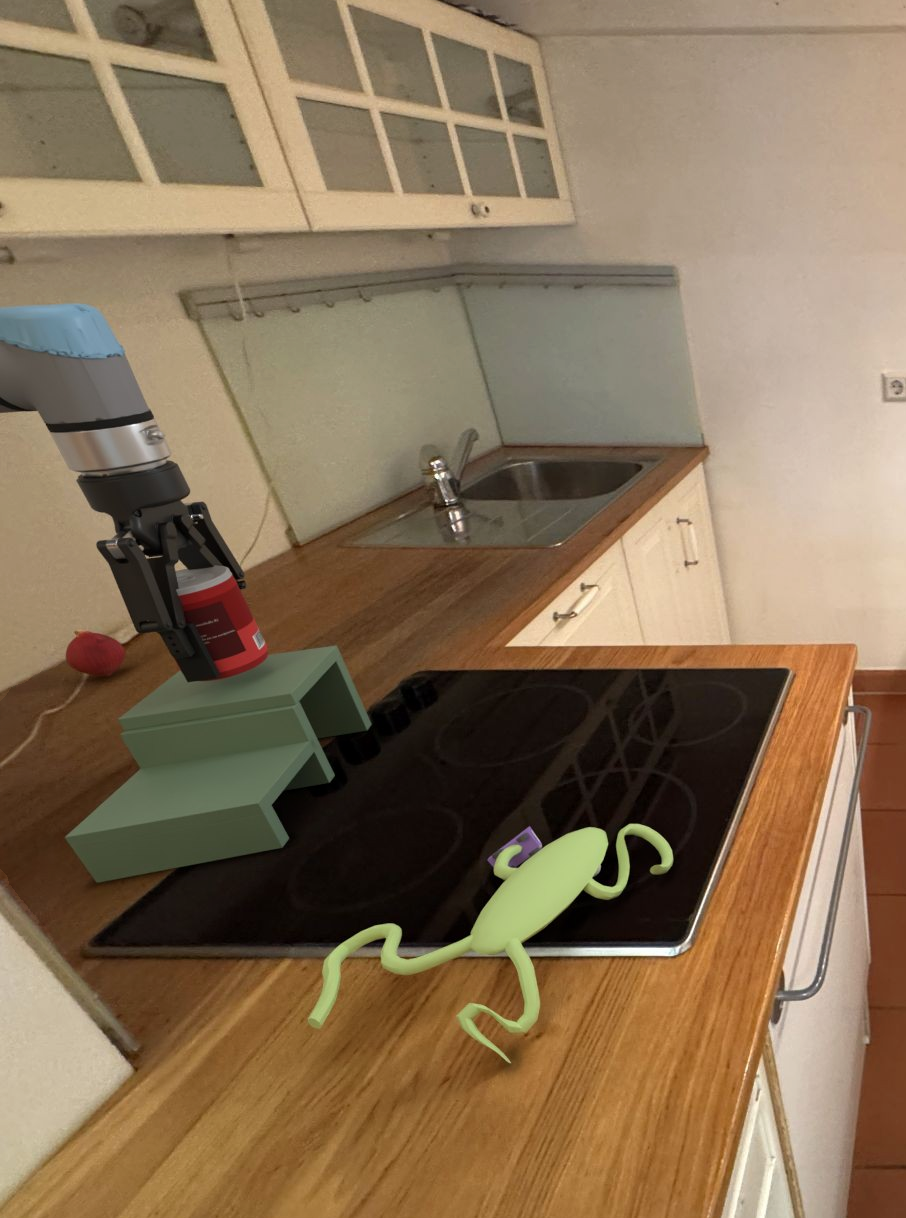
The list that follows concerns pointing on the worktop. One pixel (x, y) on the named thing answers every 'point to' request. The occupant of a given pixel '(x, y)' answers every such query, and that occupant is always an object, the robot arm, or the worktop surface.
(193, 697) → the step rack
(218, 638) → the canned food
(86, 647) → the onion
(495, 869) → the figurine
